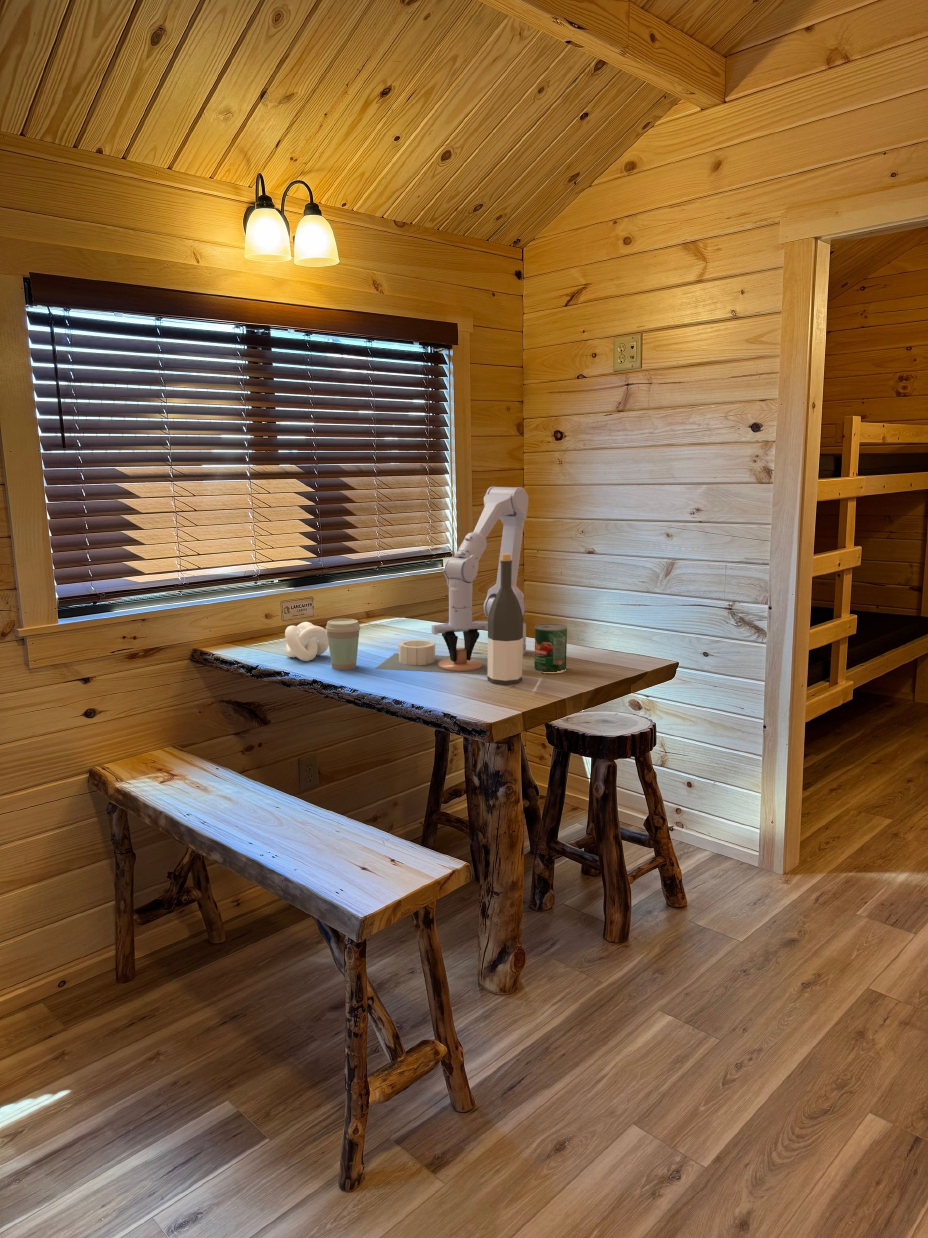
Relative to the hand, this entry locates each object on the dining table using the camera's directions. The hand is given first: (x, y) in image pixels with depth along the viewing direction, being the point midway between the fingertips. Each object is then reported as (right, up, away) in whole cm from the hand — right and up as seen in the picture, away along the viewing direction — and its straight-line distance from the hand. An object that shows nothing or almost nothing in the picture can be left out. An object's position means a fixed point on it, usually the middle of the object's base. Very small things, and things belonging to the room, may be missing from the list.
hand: (460, 660), depth 208 cm
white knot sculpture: (-41, 0, +10) cm, 42 cm away
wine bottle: (+10, -5, -13) cm, 17 cm away
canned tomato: (+22, -3, -1) cm, 22 cm away
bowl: (-11, 0, +6) cm, 12 cm away
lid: (0, -2, 0) cm, 2 cm away
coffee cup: (-29, -2, -1) cm, 29 cm away
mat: (-6, -1, +3) cm, 7 cm away
